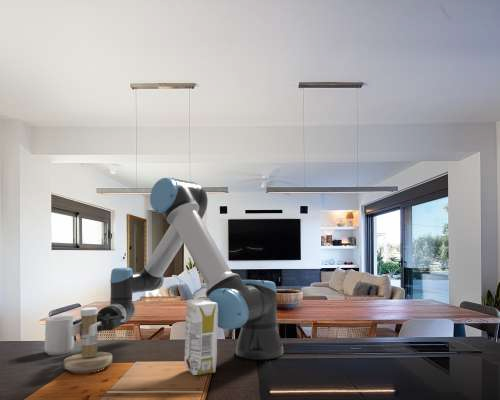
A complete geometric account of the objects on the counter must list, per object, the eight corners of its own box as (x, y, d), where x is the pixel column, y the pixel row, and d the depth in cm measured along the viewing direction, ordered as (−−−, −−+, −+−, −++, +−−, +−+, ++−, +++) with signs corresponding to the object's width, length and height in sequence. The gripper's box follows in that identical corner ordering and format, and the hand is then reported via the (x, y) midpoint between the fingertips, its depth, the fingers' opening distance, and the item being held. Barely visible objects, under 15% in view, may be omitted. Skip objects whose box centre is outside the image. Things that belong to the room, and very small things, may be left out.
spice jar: (78, 356, 118) (77, 309, 119) (93, 352, 121) (92, 306, 123) (86, 358, 115) (85, 309, 116) (101, 354, 118) (100, 307, 120)
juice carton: (193, 378, 107) (195, 306, 107) (181, 366, 114) (183, 298, 114) (219, 373, 111) (221, 303, 111) (206, 361, 118) (208, 296, 118)
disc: (117, 369, 116) (118, 358, 116) (68, 378, 108) (69, 366, 109) (105, 359, 126) (105, 349, 127) (59, 367, 119) (59, 356, 119)
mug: (62, 356, 131) (63, 320, 133) (38, 355, 133) (39, 320, 134) (84, 347, 143) (85, 314, 144) (62, 346, 145) (63, 314, 146)
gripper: (137, 327, 136) (112, 344, 113) (84, 328, 136) (49, 345, 113) (137, 304, 137) (113, 316, 114) (85, 305, 137) (50, 317, 114)
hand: (81, 331), depth 113 cm, fingers open, 5 cm apart
